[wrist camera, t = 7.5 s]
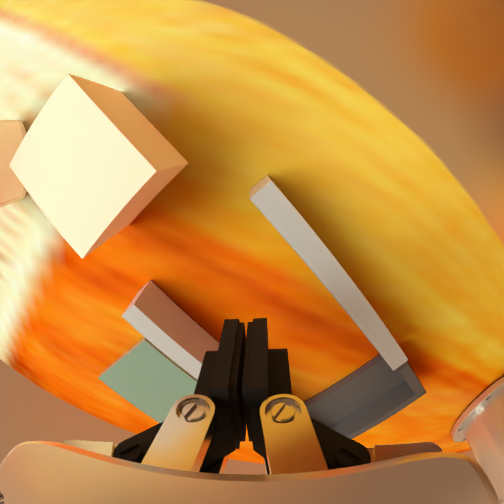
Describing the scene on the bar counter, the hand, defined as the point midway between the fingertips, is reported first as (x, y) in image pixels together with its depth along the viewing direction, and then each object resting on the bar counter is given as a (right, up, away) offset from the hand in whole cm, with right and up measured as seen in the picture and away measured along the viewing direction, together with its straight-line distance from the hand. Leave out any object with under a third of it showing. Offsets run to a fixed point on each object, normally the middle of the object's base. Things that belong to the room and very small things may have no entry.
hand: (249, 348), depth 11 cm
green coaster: (-7, -6, +9) cm, 13 cm away
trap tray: (+8, -8, +9) cm, 15 cm away
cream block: (-7, +9, +3) cm, 12 cm away
